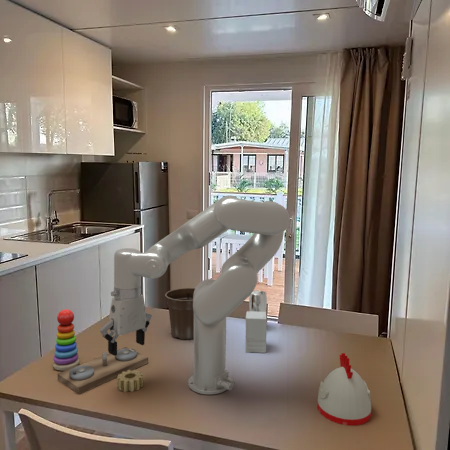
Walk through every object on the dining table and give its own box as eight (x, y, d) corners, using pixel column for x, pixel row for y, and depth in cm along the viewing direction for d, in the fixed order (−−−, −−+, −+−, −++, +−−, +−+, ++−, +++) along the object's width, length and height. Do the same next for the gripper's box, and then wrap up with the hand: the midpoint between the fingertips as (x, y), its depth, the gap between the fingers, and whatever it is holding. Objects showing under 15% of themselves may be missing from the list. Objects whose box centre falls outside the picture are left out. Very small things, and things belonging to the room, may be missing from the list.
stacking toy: (70, 373, 128) (68, 315, 126) (47, 370, 130) (44, 313, 127) (84, 361, 136) (82, 307, 133) (62, 359, 138) (59, 305, 135)
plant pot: (160, 329, 164) (160, 290, 162) (198, 323, 171) (198, 285, 168) (173, 345, 149) (172, 302, 147) (214, 338, 156) (214, 296, 154)
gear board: (148, 363, 136) (148, 345, 135) (79, 394, 117) (78, 374, 116) (126, 352, 143) (125, 335, 142) (57, 379, 124) (56, 361, 123)
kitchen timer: (360, 395, 118) (363, 345, 116) (379, 425, 104) (383, 369, 102) (311, 395, 117) (313, 345, 115) (325, 425, 103) (327, 369, 101)
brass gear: (148, 384, 122) (148, 375, 122) (127, 394, 116) (127, 385, 116) (132, 376, 127) (132, 367, 126) (112, 385, 121) (112, 376, 121)
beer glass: (260, 333, 160) (260, 296, 158) (245, 329, 164) (245, 293, 162) (269, 328, 166) (270, 292, 164) (254, 324, 170) (255, 289, 168)
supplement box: (266, 344, 151) (266, 311, 149) (266, 353, 143) (266, 318, 142) (245, 343, 151) (246, 310, 150) (244, 352, 144) (245, 317, 142)
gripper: (109, 301, 109) (109, 362, 111) (159, 289, 122) (158, 343, 124) (93, 295, 113) (93, 354, 116) (143, 283, 127) (142, 336, 129)
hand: (126, 348), depth 120 cm, fingers open, 9 cm apart
